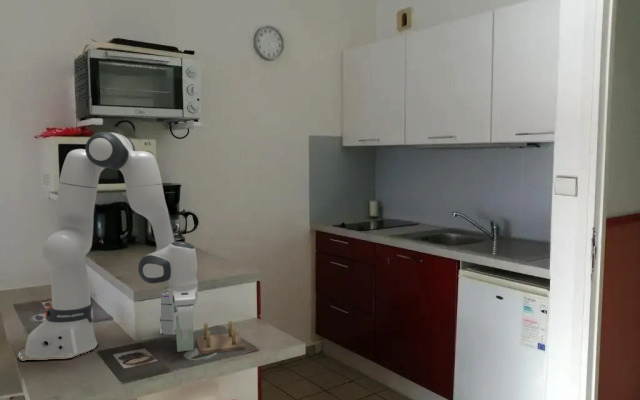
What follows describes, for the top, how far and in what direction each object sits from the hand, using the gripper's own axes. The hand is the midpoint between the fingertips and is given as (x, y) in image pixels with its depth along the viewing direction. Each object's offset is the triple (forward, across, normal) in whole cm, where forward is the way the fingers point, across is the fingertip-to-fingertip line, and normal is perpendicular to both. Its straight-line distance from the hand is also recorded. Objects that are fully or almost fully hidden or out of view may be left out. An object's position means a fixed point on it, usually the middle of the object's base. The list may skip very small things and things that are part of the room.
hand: (184, 335), depth 170 cm
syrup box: (+4, -18, -4) cm, 19 cm away
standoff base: (+4, 0, +11) cm, 12 cm away
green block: (+4, 0, 0) cm, 4 cm away
